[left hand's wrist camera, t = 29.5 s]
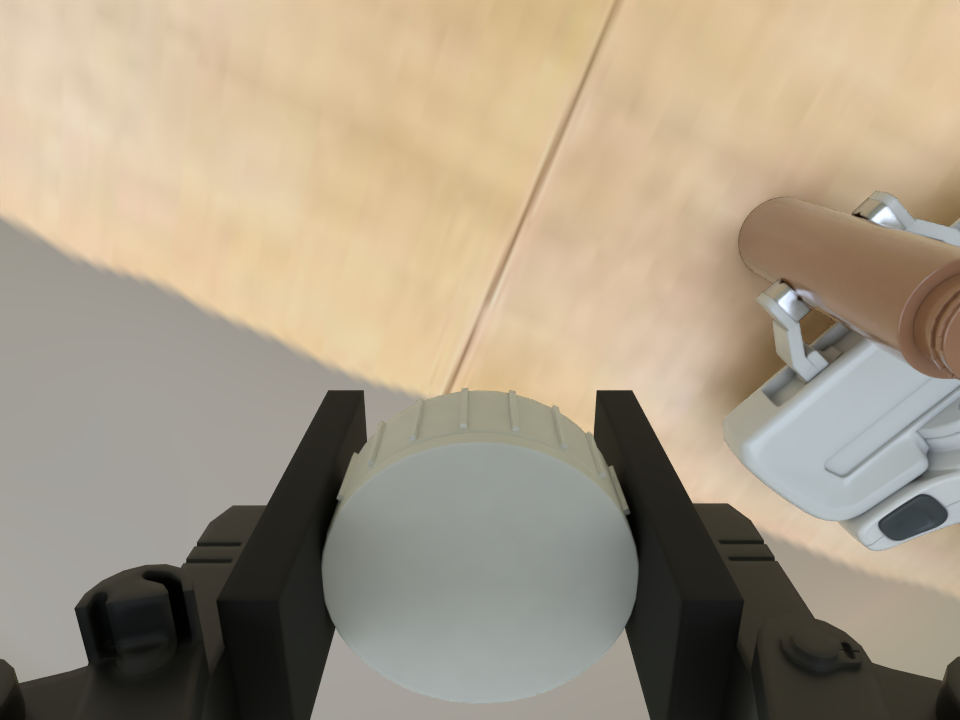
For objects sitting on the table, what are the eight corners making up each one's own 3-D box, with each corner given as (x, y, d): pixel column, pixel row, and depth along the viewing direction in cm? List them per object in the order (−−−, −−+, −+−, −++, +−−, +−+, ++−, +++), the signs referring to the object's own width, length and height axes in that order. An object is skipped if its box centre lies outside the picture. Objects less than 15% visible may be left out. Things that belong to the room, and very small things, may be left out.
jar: (817, 189, 38) (1078, 253, 21) (820, 268, 40) (1064, 385, 23) (735, 206, 38) (929, 282, 22) (741, 283, 40) (925, 409, 23)
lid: (307, 578, 13) (278, 656, 11) (392, 343, 11) (375, 389, 9) (552, 653, 14) (563, 740, 12) (667, 443, 12) (701, 504, 10)
